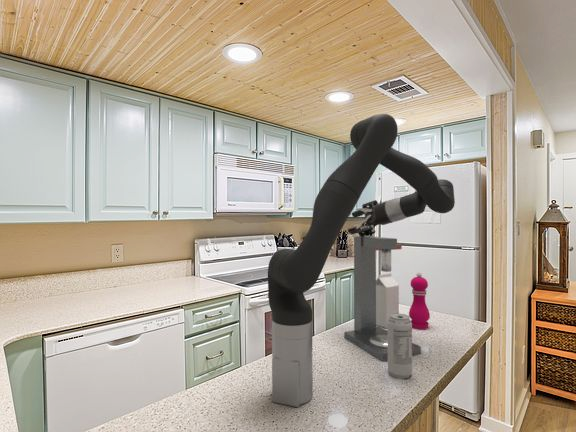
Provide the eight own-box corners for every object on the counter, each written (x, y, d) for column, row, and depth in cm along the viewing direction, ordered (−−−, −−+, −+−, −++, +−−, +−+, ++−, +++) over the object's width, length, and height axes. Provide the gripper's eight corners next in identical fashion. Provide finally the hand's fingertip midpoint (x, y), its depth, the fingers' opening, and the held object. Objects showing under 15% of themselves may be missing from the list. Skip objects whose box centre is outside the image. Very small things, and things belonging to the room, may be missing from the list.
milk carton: (399, 325, 127) (398, 274, 127) (386, 328, 123) (386, 276, 123) (383, 320, 133) (383, 272, 133) (371, 323, 129) (371, 273, 129)
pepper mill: (433, 330, 121) (433, 274, 121) (412, 330, 121) (412, 274, 121) (425, 323, 128) (425, 271, 129) (406, 323, 129) (406, 271, 129)
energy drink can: (407, 368, 90) (407, 312, 91) (415, 379, 84) (415, 319, 85) (384, 368, 91) (384, 312, 91) (391, 379, 85) (391, 319, 85)
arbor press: (441, 349, 104) (440, 238, 104) (382, 361, 95) (382, 240, 95) (396, 329, 122) (396, 235, 122) (344, 337, 114) (343, 236, 114)
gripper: (388, 189, 116) (348, 203, 127) (383, 219, 107) (341, 232, 118) (399, 203, 120) (359, 215, 130) (395, 234, 111) (353, 244, 121)
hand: (351, 223), depth 124 cm, fingers open, 7 cm apart
